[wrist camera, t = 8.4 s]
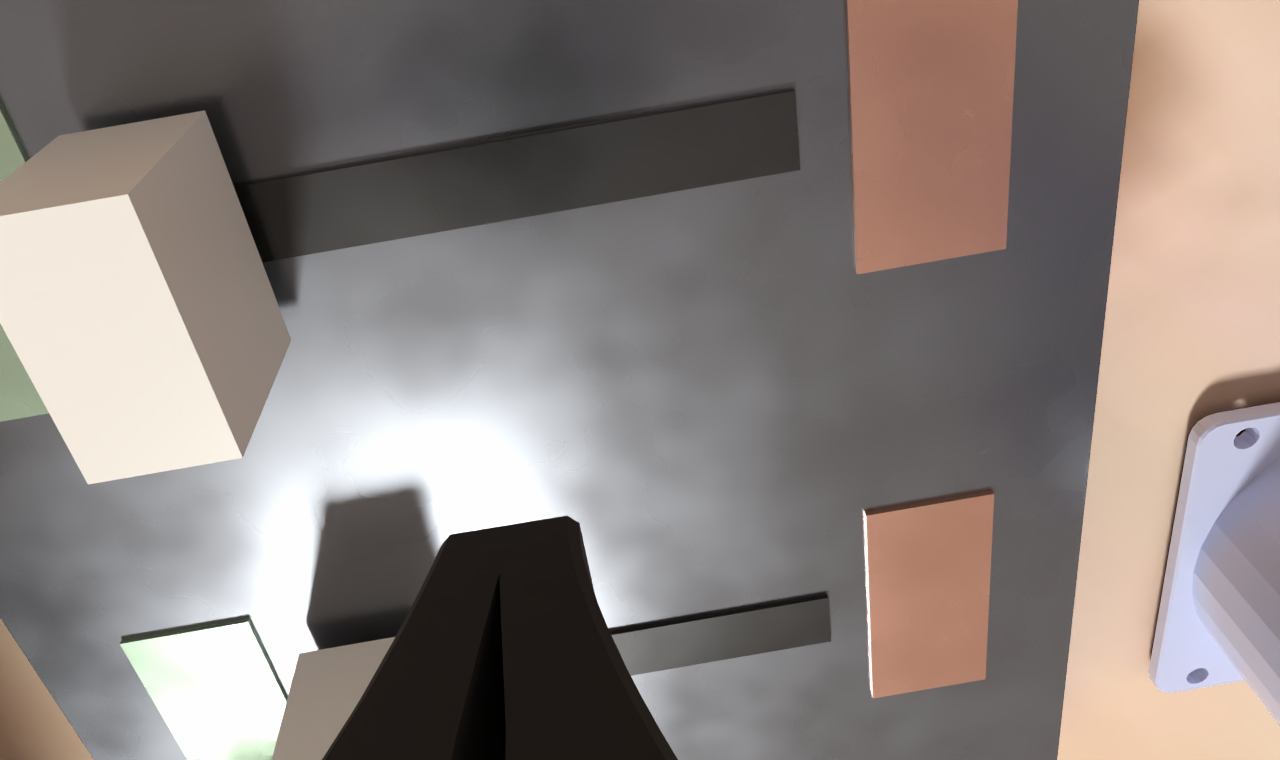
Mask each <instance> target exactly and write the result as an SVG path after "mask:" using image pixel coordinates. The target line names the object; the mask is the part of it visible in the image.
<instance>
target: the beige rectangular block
mask: <svg viewBox="0 0 1280 760" xmlns="http://www.w3.org/2000/svg"><path fill="white" fill-rule="evenodd" d="M0 324H1V326H2V327H3V329H4V331H5V333H6V335H7V337H8V338H9V340H10V342H11V344H12V346H13V348H14V350H15V351H16V353H17V355H18V357H19V359H20V361H21V362H22V364H23V366H24V368H25V370H26V372H27V373H28V375H29V377H30V379H31V381H32V383H33V384H34V386H35V388H36V390H37V392H38V394H39V395H40V397H41V399H42V401H43V403H44V405H45V406H46V408H47V410H48V412H49V414H50V416H51V417H52V419H53V421H54V423H55V425H56V427H57V429H58V430H59V432H60V434H61V436H62V438H63V440H64V441H65V443H66V445H67V447H68V449H69V451H70V452H71V454H72V456H73V458H74V460H75V462H76V463H77V465H78V467H79V469H80V471H81V473H82V474H83V476H84V478H85V480H86V482H87V484H94V483H100V482H106V481H112V480H117V479H123V478H129V477H135V476H141V475H147V474H152V473H158V472H164V471H170V470H176V469H182V468H187V467H193V466H199V465H205V464H211V463H216V462H222V461H228V460H234V459H240V458H243V456H244V454H245V451H246V449H247V446H248V444H249V441H250V439H251V437H252V434H253V432H254V429H255V427H256V425H257V422H258V420H259V417H260V415H261V412H262V410H263V408H264V405H265V403H266V400H267V398H268V395H269V393H270V391H271V388H272V386H273V383H274V381H275V378H276V376H277V374H278V371H279V369H280V366H281V364H282V362H283V359H284V357H285V354H286V352H287V349H288V347H289V345H290V342H291V338H290V335H289V332H288V330H287V327H286V324H285V322H284V319H283V316H282V314H281V311H280V308H279V306H278V303H277V300H276V298H275V295H274V292H273V290H272V287H271V284H270V282H269V279H268V276H267V274H266V271H265V268H264V266H263V263H262V260H261V258H260V255H259V252H258V250H257V247H256V244H255V242H254V239H253V237H252V234H251V231H250V229H249V226H248V223H247V221H246V218H245V215H244V213H243V210H242V207H241V205H240V202H239V199H238V197H237V194H236V191H235V189H234V186H233V183H232V181H231V178H230V175H229V173H228V170H227V167H226V165H225V162H224V159H223V157H222V154H221V151H220V149H219V146H218V143H217V141H216V138H215V135H214V133H213V130H212V127H211V125H210V122H209V119H208V117H207V114H206V111H205V110H204V111H199V112H193V113H187V114H181V115H175V116H170V117H164V118H158V119H152V120H146V121H140V122H135V123H129V124H123V125H117V126H111V127H106V128H100V129H94V130H88V131H82V132H76V133H71V134H65V135H59V136H58V137H56V138H55V139H54V140H53V141H51V142H50V143H49V144H48V145H46V146H45V147H44V148H43V149H41V150H40V151H39V152H38V153H36V154H35V155H34V156H33V157H31V158H30V159H29V160H28V161H26V162H25V163H24V164H23V165H21V166H20V167H19V168H18V169H16V170H15V171H14V172H13V173H11V174H10V175H9V176H8V177H6V178H5V179H4V180H3V181H2V182H0Z"/></svg>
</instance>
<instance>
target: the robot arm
mask: <svg viewBox="0 0 1280 760" xmlns="http://www.w3.org/2000/svg"><path fill="white" fill-rule="evenodd" d="M1244 429H1246V430H1245V432H1243V433H1242V434H1241V435H1240V436H1237V437H1236V435H1237V434H1238V433H1239V432H1240V431H1242V430H1244ZM1149 677H1150V679H1151V680H1152V682H1153V683H1154V685H1155V686H1156V687H1157V688H1158V690H1159V691H1163V692H1166V693H1171V692H1180V691H1185V690H1191V689H1197V688H1203V687H1209V686H1215V685H1220V684H1226V683H1232V682H1238V681H1244V680H1245V681H1246V682H1247V684H1248V685H1249V686H1250V688H1251V689H1252V690H1253V692H1254V693H1255V694H1256V695H1257V697H1258V698H1259V699H1260V701H1261V702H1262V703H1263V705H1264V706H1265V707H1266V708H1267V710H1268V711H1269V712H1270V714H1271V715H1272V716H1273V718H1274V719H1275V720H1276V721H1277V723H1278V724H1279V725H1280V402H1277V403H1271V404H1265V405H1259V406H1254V407H1248V408H1242V409H1236V410H1230V411H1224V412H1219V413H1214V414H1211V415H1208V416H1206V417H1204V418H1203V419H1201V420H1200V421H1198V422H1197V423H1196V425H1195V426H1194V427H1193V428H1192V430H1191V432H1190V435H1189V437H1188V443H1187V449H1186V455H1185V461H1184V467H1183V473H1182V479H1181V485H1180V490H1179V496H1178V502H1177V508H1176V514H1175V520H1174V526H1173V532H1172V538H1171V544H1170V550H1169V555H1168V561H1167V567H1166V573H1165V579H1164V585H1163V591H1162V597H1161V603H1160V609H1159V615H1158V620H1157V626H1156V632H1155V638H1154V644H1153V650H1152V656H1151V662H1150V668H1149ZM322 760H678V759H677V757H676V755H675V754H674V752H673V750H672V749H671V747H670V745H669V744H668V742H667V740H666V739H665V737H664V735H663V734H662V732H661V730H660V729H659V727H658V725H657V723H656V721H655V720H654V718H653V716H652V714H651V712H650V711H649V709H648V707H647V705H646V704H645V702H644V700H643V698H642V696H641V695H640V693H639V691H638V689H637V687H636V685H635V683H634V681H633V679H632V677H631V675H630V673H629V671H628V670H627V667H626V665H625V663H624V661H623V659H622V657H621V655H620V652H619V650H618V648H617V646H616V644H615V642H614V639H613V637H612V635H611V633H610V631H609V629H608V627H607V624H606V622H605V619H604V617H603V615H602V612H601V610H600V607H599V605H598V602H597V599H596V596H595V592H594V588H593V583H592V578H591V574H590V569H589V564H588V560H587V555H586V551H585V546H584V541H583V537H582V532H581V527H580V523H579V522H577V521H575V520H574V519H572V518H570V517H569V516H561V517H555V518H548V519H542V520H536V521H530V522H524V523H517V524H511V525H505V526H499V527H492V528H486V529H480V530H474V531H468V532H461V533H455V534H450V535H449V536H448V538H447V539H446V540H445V541H444V543H443V544H442V545H441V547H440V549H439V552H438V554H437V556H436V558H435V560H434V562H433V564H432V566H431V568H430V571H429V573H428V575H427V577H426V579H425V581H424V583H423V585H422V587H421V589H420V591H419V593H418V595H417V597H416V599H415V601H414V603H413V605H412V607H411V609H410V610H409V612H408V614H407V616H406V618H405V620H404V622H403V624H402V626H401V628H400V629H399V631H398V633H397V635H396V637H395V639H394V641H393V642H392V644H391V646H390V648H389V649H388V651H387V653H386V655H385V656H384V658H383V660H382V662H381V663H380V665H379V667H378V669H377V671H376V672H375V674H374V676H373V678H372V679H371V681H370V683H369V685H368V686H367V688H366V690H365V692H364V693H363V695H362V697H361V699H360V700H359V702H358V704H357V705H356V707H355V708H354V710H353V712H352V713H351V715H350V717H349V718H348V720H347V721H346V723H345V724H344V726H343V727H342V729H341V731H340V732H339V734H338V735H337V737H336V738H335V740H334V742H333V743H332V745H331V746H330V748H329V749H328V751H327V752H326V754H325V756H324V757H323V759H322Z"/></svg>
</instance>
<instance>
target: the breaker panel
mask: <svg viewBox="0 0 1280 760" xmlns="http://www.w3.org/2000/svg"><path fill="white" fill-rule="evenodd" d="M1138 5H1139V0H0V182H2V181H3V180H4V179H5V178H6V177H8V176H9V175H10V174H11V173H13V172H14V171H15V170H16V169H18V168H19V167H20V166H21V165H23V164H24V163H25V162H26V161H28V160H29V159H30V158H31V157H33V156H34V155H35V154H36V153H38V152H39V151H40V150H41V149H43V148H44V147H45V146H46V145H48V144H49V143H50V142H51V141H53V140H54V139H55V138H56V137H58V136H59V135H65V134H71V133H76V132H82V131H88V130H94V129H100V128H106V127H111V126H117V125H123V124H129V123H135V122H140V121H146V120H152V119H158V118H164V117H170V116H175V115H181V114H187V113H193V112H199V111H204V110H205V111H206V114H207V117H208V119H209V122H210V125H211V127H212V130H213V133H214V135H215V138H216V141H217V143H218V146H219V149H220V151H221V154H222V157H223V159H224V162H225V165H226V167H227V170H228V173H229V175H230V178H231V181H232V183H233V186H234V189H235V191H236V194H237V197H238V199H239V202H240V205H241V207H242V210H243V213H244V215H245V218H246V221H247V223H248V226H249V229H250V231H251V234H252V237H253V239H254V242H255V244H256V247H257V250H258V252H259V255H260V258H261V260H262V263H263V266H264V268H265V271H266V274H267V276H268V279H269V282H270V284H271V287H272V290H273V292H274V295H275V298H276V300H277V303H278V306H279V308H280V311H281V314H282V316H283V319H284V322H285V324H286V327H287V330H288V332H289V335H290V338H291V342H290V345H289V347H288V349H287V352H286V354H285V357H284V359H283V362H282V364H281V366H280V369H279V371H278V374H277V376H276V378H275V381H274V383H273V386H272V388H271V391H270V393H269V395H268V398H267V400H266V403H265V405H264V408H263V410H262V412H261V415H260V417H259V420H258V422H257V425H256V427H255V429H254V432H253V434H252V437H251V439H250V441H249V444H248V446H247V449H246V451H245V454H244V456H243V458H240V459H234V460H228V461H222V462H216V463H211V464H205V465H199V466H193V467H187V468H182V469H176V470H170V471H164V472H158V473H152V474H147V475H141V476H135V477H129V478H123V479H117V480H112V481H106V482H100V483H94V484H87V482H86V480H85V478H84V476H83V474H82V473H81V471H80V469H79V467H78V465H77V463H76V462H75V460H74V458H73V456H72V454H71V452H70V451H69V449H68V447H67V445H66V443H65V441H64V440H63V438H62V436H61V434H60V432H59V430H58V429H57V427H56V425H55V423H54V421H53V419H52V417H51V416H50V414H49V412H48V410H47V408H46V406H45V405H44V403H43V401H42V399H41V397H40V395H39V394H38V392H37V390H36V388H35V386H34V384H33V383H32V381H31V379H30V377H29V375H28V373H27V372H26V370H25V368H24V366H23V364H22V362H21V361H20V359H19V357H18V355H17V353H16V351H15V350H14V348H13V346H12V344H11V342H10V340H9V338H8V337H7V335H6V333H5V331H4V329H3V327H2V326H1V324H0V618H1V619H2V621H3V622H4V624H5V625H6V627H7V628H8V630H9V631H10V633H11V634H12V636H13V638H14V639H15V641H16V642H17V644H18V645H19V647H20V648H21V650H22V651H23V653H24V654H25V656H26V657H27V659H28V660H29V662H30V663H31V665H32V666H33V668H34V669H35V671H36V672H37V674H38V675H39V677H40V679H41V680H42V682H43V683H44V685H45V686H46V688H47V689H48V691H49V692H50V694H51V695H52V697H53V698H54V700H55V701H56V703H57V704H58V706H59V707H60V709H61V710H62V712H63V713H64V715H65V716H66V718H67V720H68V721H69V723H70V724H71V726H72V727H73V729H74V730H75V732H76V733H77V735H78V736H79V738H80V739H81V741H82V742H83V744H84V745H85V747H86V748H87V750H88V751H89V753H90V754H91V756H92V757H93V759H94V760H272V756H273V752H274V749H275V745H276V741H277V737H278V733H279V729H280V726H281V722H282V718H283V714H284V710H285V706H286V702H287V699H288V695H289V691H290V687H291V683H292V679H293V676H294V672H295V668H296V664H297V660H298V656H299V653H304V652H310V651H316V650H322V649H327V648H333V647H339V646H345V645H351V644H357V643H362V642H368V641H374V640H380V639H386V638H392V637H396V635H397V633H398V631H399V629H400V628H401V626H402V624H403V622H404V620H405V618H406V616H407V614H408V612H409V610H410V609H411V607H412V605H413V603H414V601H415V599H416V597H417V595H418V593H419V591H420V589H421V587H422V585H423V583H424V581H425V579H426V577H427V575H428V573H429V571H430V568H431V566H432V564H433V562H434V560H435V558H436V556H437V554H438V552H439V549H440V547H441V545H442V544H443V543H444V541H445V540H446V539H447V538H448V536H449V535H450V534H455V533H461V532H468V531H474V530H480V529H486V528H492V527H499V526H505V525H511V524H517V523H524V522H530V521H536V520H542V519H548V518H555V517H561V516H569V517H570V518H572V519H574V520H575V521H577V522H579V523H580V527H581V532H582V537H583V541H584V546H585V551H586V555H587V560H588V564H589V569H590V574H591V578H592V583H593V588H594V592H595V596H596V599H597V602H598V605H599V607H600V610H601V612H602V615H603V617H604V619H605V622H606V624H607V627H608V629H609V631H610V633H611V635H612V637H613V639H614V642H615V644H616V646H617V648H618V650H619V652H620V655H621V657H622V659H623V661H624V663H625V665H626V667H627V670H628V671H629V673H630V675H631V677H632V679H633V681H634V683H635V685H636V687H637V689H638V691H639V693H640V695H641V696H642V698H643V700H644V702H645V704H646V705H647V707H648V709H649V711H650V712H651V714H652V716H653V718H654V720H655V721H656V723H657V725H658V727H659V729H660V730H661V732H662V734H663V735H664V737H665V739H666V740H667V742H668V744H669V745H670V747H671V749H672V750H673V752H674V754H675V755H676V757H677V759H678V760H1057V755H1058V746H1059V737H1060V727H1061V718H1062V709H1063V700H1064V690H1065V681H1066V672H1067V663H1068V653H1069V644H1070V635H1071V625H1072V616H1073V607H1074V598H1075V588H1076V579H1077V570H1078V561H1079V551H1080V542H1081V533H1082V524H1083V514H1084V505H1085V496H1086V487H1087V477H1088V468H1089V459H1090V450H1091V440H1092V431H1093V422H1094V412H1095V403H1096V394H1097V385H1098V375H1099V366H1100V357H1101V348H1102V338H1103V329H1104V320H1105V311H1106V301H1107V292H1108V283H1109V274H1110V264H1111V255H1112V246H1113V237H1114V227H1115V218H1116V209H1117V199H1118V190H1119V181H1120V172H1121V162H1122V153H1123V144H1124V135H1125V125H1126V116H1127V107H1128V98H1129V88H1130V79H1131V70H1132V61H1133V51H1134V42H1135V33H1136V24H1137V14H1138Z"/></svg>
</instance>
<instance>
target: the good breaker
mask: <svg viewBox="0 0 1280 760" xmlns="http://www.w3.org/2000/svg"><path fill="white" fill-rule="evenodd" d="M394 639H395V637H392V638H386V639H380V640H374V641H368V642H362V643H357V644H351V645H345V646H339V647H333V648H327V649H322V650H316V651H310V652H304V653H299V656H298V660H297V664H296V668H295V672H294V676H293V679H292V683H291V687H290V691H289V695H288V699H287V702H286V706H285V710H284V714H283V718H282V722H281V726H280V729H279V733H278V737H277V741H276V745H275V749H274V752H273V756H272V760H322V759H323V757H324V756H325V754H326V752H327V751H328V749H329V748H330V746H331V745H332V743H333V742H334V740H335V738H336V737H337V735H338V734H339V732H340V731H341V729H342V727H343V726H344V724H345V723H346V721H347V720H348V718H349V717H350V715H351V713H352V712H353V710H354V708H355V707H356V705H357V704H358V702H359V700H360V699H361V697H362V695H363V693H364V692H365V690H366V688H367V686H368V685H369V683H370V681H371V679H372V678H373V676H374V674H375V672H376V671H377V669H378V667H379V665H380V663H381V662H382V660H383V658H384V656H385V655H386V653H387V651H388V649H389V648H390V646H391V644H392V642H393V641H394Z"/></svg>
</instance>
